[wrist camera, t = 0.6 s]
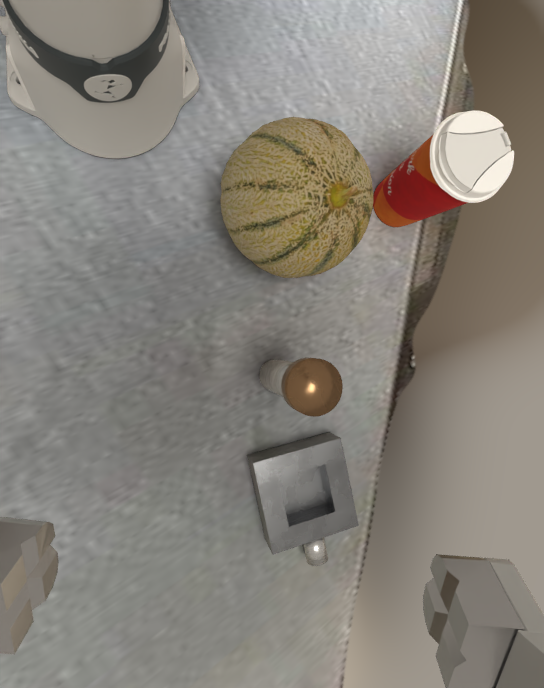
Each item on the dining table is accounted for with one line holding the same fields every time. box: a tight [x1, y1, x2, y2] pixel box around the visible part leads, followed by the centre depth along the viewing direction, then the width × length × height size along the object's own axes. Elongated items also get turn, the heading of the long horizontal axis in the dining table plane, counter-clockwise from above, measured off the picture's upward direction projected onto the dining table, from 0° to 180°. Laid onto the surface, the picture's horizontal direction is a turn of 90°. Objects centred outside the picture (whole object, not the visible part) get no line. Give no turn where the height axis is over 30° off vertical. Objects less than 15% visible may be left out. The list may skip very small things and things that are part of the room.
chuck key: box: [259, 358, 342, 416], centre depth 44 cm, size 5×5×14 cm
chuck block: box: [247, 432, 359, 566], centre depth 50 cm, size 13×10×4 cm
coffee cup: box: [373, 111, 514, 227], centre depth 47 cm, size 8×8×15 cm
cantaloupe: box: [220, 117, 373, 278], centre depth 43 cm, size 15×15×15 cm
